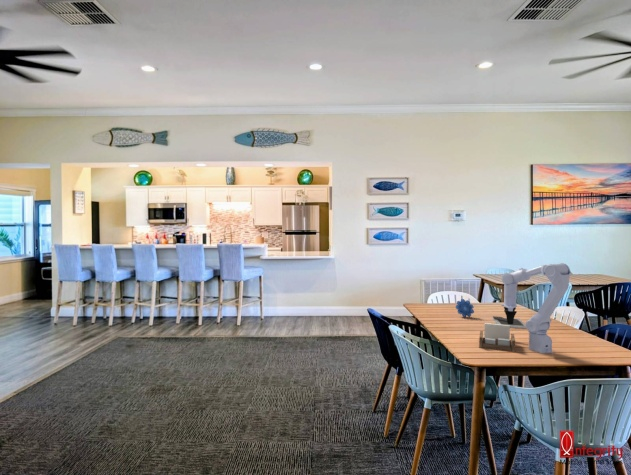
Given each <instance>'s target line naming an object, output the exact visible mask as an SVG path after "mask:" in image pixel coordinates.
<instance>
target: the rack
mask: <svg viewBox="0 0 631 475" xmlns="http://www.w3.org/2000/svg"><path fill="white" fill-rule="evenodd" d="M483 333H484V330H480V331H479V338H478V339H479V341H478V342H479V343H478V348H479V349H485V350H486V349H487V350H497V351H503V352H504V351H507V352H514V353H515V352H516V338H515V334H514V333H510V335H511V336H510V346H504V345H498V339H495V344H485V338H484V337H483V336H484V335H483ZM491 339H493V338H491Z"/></svg>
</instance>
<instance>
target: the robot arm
mask: <svg viewBox="0 0 631 475" xmlns="http://www.w3.org/2000/svg"><path fill="white" fill-rule="evenodd" d="M538 275H543V276H546V278H547V279H548V281H549V283H551V284H552V287H551V289H550V291H549V292H548V294H547V296H546V298H545V299H544V301H543V303H542V304H541V306H540V307H539V309H538V311H537V312H536V313H534V315H532V316H531V317H530V318H529V319H528V320H526V322H525V324H526V328H527V329H526V330H527V331H528V349H529V350H531V351H533V352H536V353H540V354H552V355H553V354H554V351H553V339H552V337H551V336H549V335H548V334H547V333H548V330H549V329H550V326H551V322H552V318H551V317H552V315H553V313H554V311H555V310H556V309H557V307H558V305H559V303H560V302H561V300H562V299H563V297H564V295H565V294H566V292H567V291H568V289H569V285H570V276H571V275H572V271H571V269H570V267H569V266H568V265H567V264H566V263H562V262H561V263H554V264H553V263H549V264H543V265H540V266H537V267H534V268H530V269H527V268H523V267H520V268H518V270H512V271H511V272H505V273H503V274H502V275H501V282H502V283H503V284H504V285H503V303H501V306H502V307H503V309H504V313H505V316H506V317H505V318H507V323H508V324H513V320H514V319H515V316H516V314H517V310H516V309H517V307H518V305H517V288H518V284H519V283H521V282H525V281H529V280H530V279H531V277H533V276H538ZM515 310H516V311H515Z"/></svg>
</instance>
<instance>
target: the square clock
mask: <svg viewBox="0 0 631 475" xmlns="http://www.w3.org/2000/svg"><path fill="white" fill-rule="evenodd" d="M492 321H493V322H494V324H502V325H510V328H511V329H523V330H527V328H526V322H524V321H523V320H521V319H520V318H514V320H513V324H508V323H507V317H502V316H495V315H492Z"/></svg>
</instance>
